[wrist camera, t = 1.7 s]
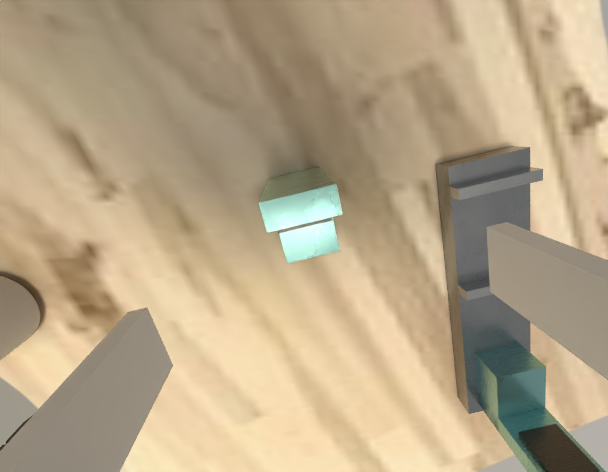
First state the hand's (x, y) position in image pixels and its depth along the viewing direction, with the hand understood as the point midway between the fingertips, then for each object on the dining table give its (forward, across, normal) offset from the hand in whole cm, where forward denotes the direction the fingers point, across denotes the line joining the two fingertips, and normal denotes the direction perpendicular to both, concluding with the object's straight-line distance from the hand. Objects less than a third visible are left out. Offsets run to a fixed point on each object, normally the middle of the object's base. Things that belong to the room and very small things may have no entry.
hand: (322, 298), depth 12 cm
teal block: (+14, 0, 0) cm, 14 cm away
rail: (+14, +14, -11) cm, 22 cm away
